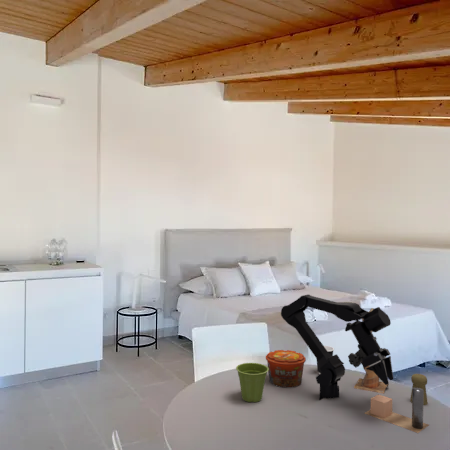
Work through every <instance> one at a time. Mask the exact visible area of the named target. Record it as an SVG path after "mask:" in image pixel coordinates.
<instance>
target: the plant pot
mask: <svg viewBox="0 0 450 450" xmlns="http://www.w3.org/2000/svg"><path fill="white" fill-rule="evenodd" d="M235 370H236V371H237V375H238V378H239V386H240V394H241V398H242V400H243V401H245V402H248V403H258V402H260V401H261V400H262V399H263V394H264V388H265V382H266V377H267V375H268V374H267V373H268V370H269V368H268V365H265V364H262V363H258V362H244V363H240V364H238V365H237V366H236V367H235Z"/></svg>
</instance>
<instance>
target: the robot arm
mask: <svg viewBox="0 0 450 450" xmlns="http://www.w3.org/2000/svg"><path fill="white" fill-rule="evenodd" d="M308 308H310V309H314V310H318V311H322V312H325V313H329V314H332V315H334V316H335V317H336V318H338V319H340V320H342V321H343V322H346V324H345V325H346V327H345V328H344V331H345V332H348V331H351V332H352V334H353V336H354V338H355V340H356V341H357V343H358V344H357V348H358V350H357V351H356V352H355V353H353V352H350V353H349V355H348V356H347V357H348V362H349V364H350V365H352V366H353V367H355V368H358V367H360V366H361V365H362V368H363V367H364V368H365V367H367V366H369V367H368V368H366V369H367V370H371V371H373V372H374V373H375V374H376V375H377V376H378V377H379V380H381V382H383V383H384V384H385V385H387V384H390V383H389V380H390V381H393V380H394V373H393V365H392V359H391V358H392V357H391V353H390V351H389V349H388V348H385V347H381V346H380V344H379V343H378V341H377V339H378V338H377V337H376V336H375V335H374V334H373V333H377V332H380V331H381V330H383V329H385V328H387V327H389V326H391V324H392V323H391V319H390V317H389V315H388V314H387V313H386V312H385V310H382V309H381V308H380V307H379V306H377V307H375V308H373V310H372V311H371V312H369V311H368V310H366V309H364V308H361V306H360V304H358V303H356V302H337V301H333V300H329V299H325V298H321V297H319V296H318V297H317V296H314V295H312V294H303V295H301V296H299V297H298V298H297V299H296V300H294V301H293V302H291V303H289V304H288V305H284V306H283V307H282V308H281V310H280V316H281V318H282V319H283V320H284V322H286V324H287V325H289V326H291V327H292V328H294V329H295V330H296V331H297V333H298V334H299V335H300V338H302V340H303V341H304V343H305V344H306V346H307V347H308V348H309V350H310V351H311V353H312V354H313V355H314V357H315V358H317V359H316V361H317V360H318V363H319V369H320V371H321V374H318V375H317V376H316V377H315V380H316V384H319V395H318V396H319V397H318V401H321V400H323V399H325V398H326V399H337V398H340V386H339V384H338V382H339V381H341V379H342V378H343V377H344V376H345V373H346V368H345V365H344V364H345V362H343V361H342V360H341V359H340V357H339V355H338V354H333V355H331V354H329V353H328V351H327V350H326V349H325V347H324V346H325V345H324V344H323V342H321V340H320V339H319V337H318V336H317V335H316V334H315V332H314V331H313V329H312V328H311V326H310V325H309V324H308V322H307V320H306V315H305V311H306V310H307V309H308ZM362 319H364V321H362ZM352 321H353V322H352ZM371 331H373V332H371ZM364 368H363V369H364Z"/></svg>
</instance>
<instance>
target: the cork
mask: <svg viewBox="0 0 450 450" xmlns="http://www.w3.org/2000/svg"><path fill="white" fill-rule="evenodd" d="M410 377H411V383H412V387H411V389H412V388H421V389H423V390H424V400H423V406H427V405H428V396H427V386H426V385H427V384H428V378H427V376H425V375H424V374H421V373H414V374H412V375H411V376H410ZM409 400H410V402H411V404H412V391H411V393H410V399H409Z"/></svg>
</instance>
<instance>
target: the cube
mask: <svg viewBox="0 0 450 450" xmlns="http://www.w3.org/2000/svg"><path fill="white" fill-rule="evenodd" d="M370 410H371V414H374V415H376V416H379V417H382V418H386V417H388V416H390V415H391V414H392V412H393V398H390V397H388V396H384V395H382V394H380V393H378V394H376V395H375V396H373V397H370Z"/></svg>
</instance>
